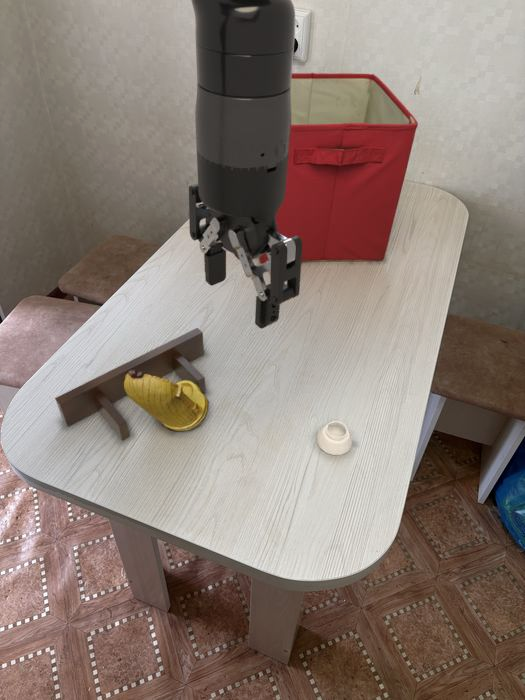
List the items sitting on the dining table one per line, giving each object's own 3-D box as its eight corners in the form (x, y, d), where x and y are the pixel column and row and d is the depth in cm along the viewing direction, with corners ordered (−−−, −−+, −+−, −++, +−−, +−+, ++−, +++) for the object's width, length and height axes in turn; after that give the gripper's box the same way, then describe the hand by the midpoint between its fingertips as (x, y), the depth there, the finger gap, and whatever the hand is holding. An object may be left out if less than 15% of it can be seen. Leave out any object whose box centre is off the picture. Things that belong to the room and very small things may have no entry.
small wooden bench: (90, 459, 69) (83, 437, 65) (63, 420, 73) (54, 398, 70) (230, 378, 80) (230, 356, 77) (198, 349, 85) (197, 327, 81)
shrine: (167, 465, 68) (155, 392, 58) (124, 436, 72) (106, 361, 61) (220, 412, 75) (218, 338, 65) (179, 388, 78) (171, 313, 68)
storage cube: (391, 267, 105) (428, 124, 85) (260, 273, 102) (267, 126, 82) (350, 195, 128) (372, 69, 108) (243, 198, 125) (245, 68, 105)
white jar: (321, 424, 75) (312, 450, 71) (323, 411, 73) (314, 437, 69) (354, 433, 74) (347, 461, 70) (358, 421, 72) (350, 448, 68)
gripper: (157, 125, 43) (171, 281, 54) (261, 189, 35) (253, 356, 46) (228, 109, 46) (228, 258, 58) (338, 164, 39) (313, 325, 50)
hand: (239, 302), depth 52 cm, fingers open, 8 cm apart
